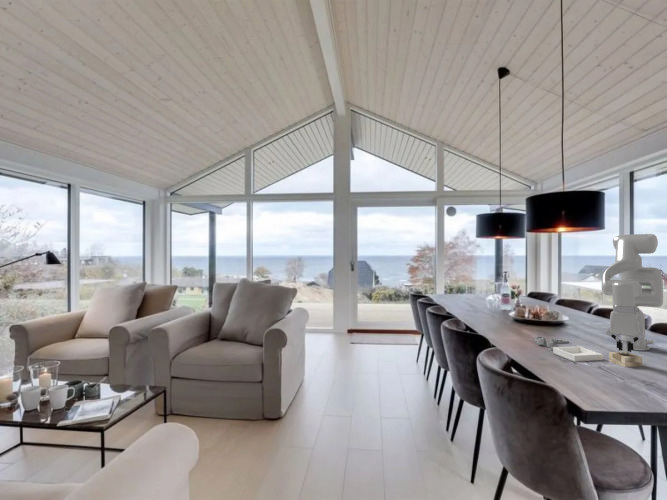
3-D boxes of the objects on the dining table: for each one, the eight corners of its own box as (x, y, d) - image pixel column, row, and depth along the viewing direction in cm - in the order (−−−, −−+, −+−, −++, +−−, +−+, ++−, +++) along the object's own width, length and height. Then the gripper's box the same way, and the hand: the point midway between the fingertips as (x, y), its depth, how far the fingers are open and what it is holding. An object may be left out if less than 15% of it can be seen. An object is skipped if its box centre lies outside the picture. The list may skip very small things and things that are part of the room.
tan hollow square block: (625, 362, 157) (625, 351, 157) (642, 368, 149) (642, 356, 149) (609, 363, 156) (608, 352, 156) (625, 369, 148) (624, 357, 149)
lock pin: (625, 359, 155) (624, 339, 155) (631, 361, 152) (631, 341, 152) (619, 359, 154) (618, 339, 154) (625, 361, 151) (624, 341, 151)
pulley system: (530, 349, 184) (563, 352, 174) (529, 340, 184) (562, 343, 174) (539, 341, 205) (569, 343, 195) (538, 333, 205) (568, 335, 195)
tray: (579, 353, 172) (579, 346, 172) (603, 362, 158) (603, 354, 158) (553, 354, 171) (553, 347, 171) (574, 363, 157) (574, 355, 157)
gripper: (648, 310, 151) (649, 351, 150) (601, 306, 161) (602, 345, 161) (648, 312, 145) (650, 356, 145) (600, 309, 156) (601, 349, 156)
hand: (625, 350), depth 153 cm, fingers closed on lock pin, 3 cm apart
